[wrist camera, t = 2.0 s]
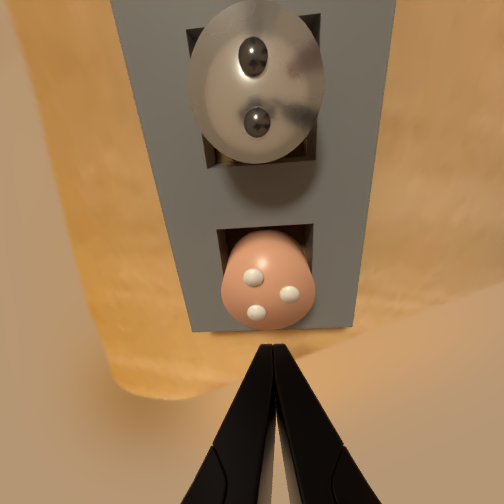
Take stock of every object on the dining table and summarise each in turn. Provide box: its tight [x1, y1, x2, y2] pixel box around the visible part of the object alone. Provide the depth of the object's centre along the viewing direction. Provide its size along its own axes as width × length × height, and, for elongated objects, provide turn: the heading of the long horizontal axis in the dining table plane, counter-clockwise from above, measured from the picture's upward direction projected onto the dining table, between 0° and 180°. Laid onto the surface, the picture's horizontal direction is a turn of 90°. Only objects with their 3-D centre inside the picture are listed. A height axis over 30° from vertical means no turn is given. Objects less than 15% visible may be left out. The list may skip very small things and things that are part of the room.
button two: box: [188, 0, 324, 164], centre depth 9 cm, size 4×4×3 cm
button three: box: [221, 229, 315, 330], centre depth 12 cm, size 4×4×3 cm
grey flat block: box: [110, 0, 396, 332], centre depth 11 cm, size 25×10×2 cm, turn 4°
